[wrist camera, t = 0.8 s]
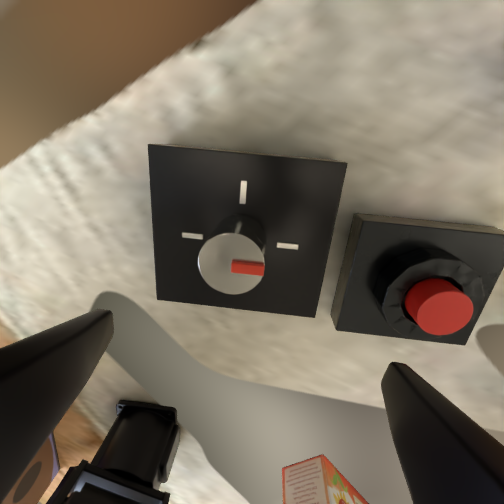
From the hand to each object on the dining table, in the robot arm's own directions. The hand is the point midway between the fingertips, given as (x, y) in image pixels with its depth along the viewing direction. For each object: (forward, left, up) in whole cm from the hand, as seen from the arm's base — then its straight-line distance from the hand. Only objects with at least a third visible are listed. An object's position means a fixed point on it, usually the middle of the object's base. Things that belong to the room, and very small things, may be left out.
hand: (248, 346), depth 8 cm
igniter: (+12, -3, -9) cm, 15 cm away
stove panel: (-1, 0, -13) cm, 13 cm away
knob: (-1, 0, -10) cm, 10 cm away
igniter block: (+12, -3, -13) cm, 18 cm away
